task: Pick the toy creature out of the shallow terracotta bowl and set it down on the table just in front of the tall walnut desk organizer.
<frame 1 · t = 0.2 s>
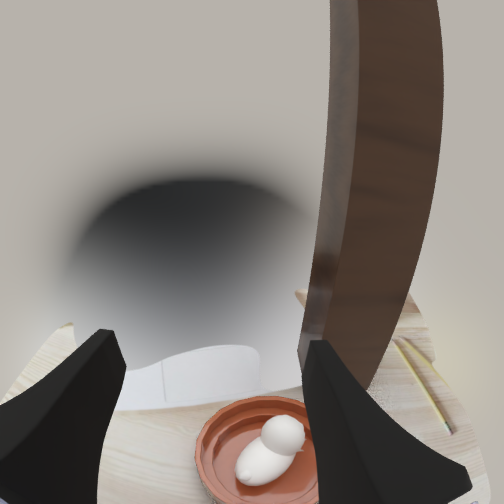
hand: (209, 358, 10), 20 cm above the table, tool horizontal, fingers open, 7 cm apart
toy creature: (267, 463, 21), resting on bowl
bowl: (267, 465, 22), on the table
organizer: (331, 370, 34), on the table
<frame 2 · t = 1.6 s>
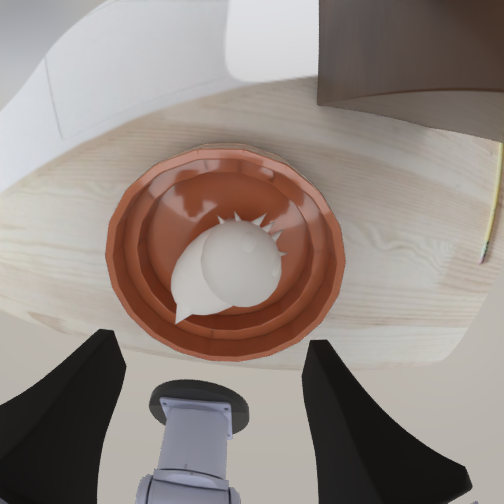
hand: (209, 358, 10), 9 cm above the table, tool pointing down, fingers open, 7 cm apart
toy creature: (225, 248, 18), resting on bowl
bowl: (226, 246, 18), on the table
organizer: (381, 55, 13), on the table
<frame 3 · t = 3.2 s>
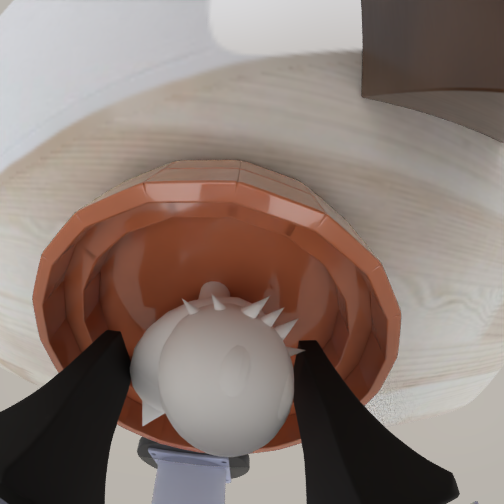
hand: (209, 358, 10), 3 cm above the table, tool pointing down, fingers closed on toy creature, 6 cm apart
toy creature: (208, 320, 12), resting on bowl, touching gripper
bowl: (215, 313, 12), on the table
organizer: (447, 34, 6), on the table
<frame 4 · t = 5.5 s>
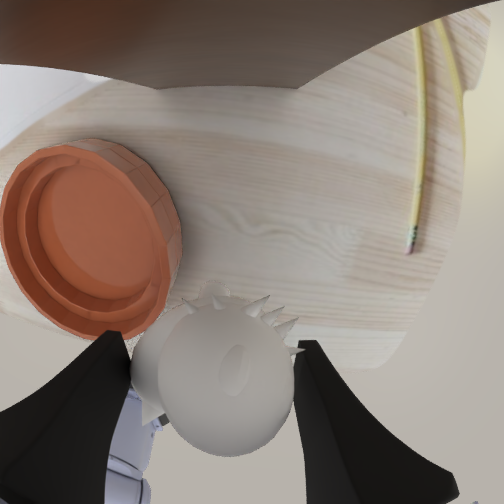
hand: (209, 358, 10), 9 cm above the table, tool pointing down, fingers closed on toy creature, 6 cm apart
toy creature: (208, 320, 12), point 7 cm above the table, touching gripper
bowl: (95, 232, 17), on the table
organizer: (228, 23, 12), on the table
when the fingers open (2 cm above the table, at t = 8.1 s): toy creature stays where it is, on the table.
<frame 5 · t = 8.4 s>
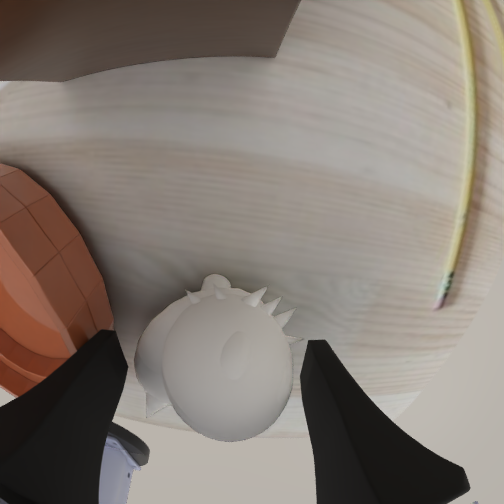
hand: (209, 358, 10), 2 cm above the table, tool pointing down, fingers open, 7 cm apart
toy creature: (210, 313, 12), on the table
bowl: (18, 280, 11), on the table
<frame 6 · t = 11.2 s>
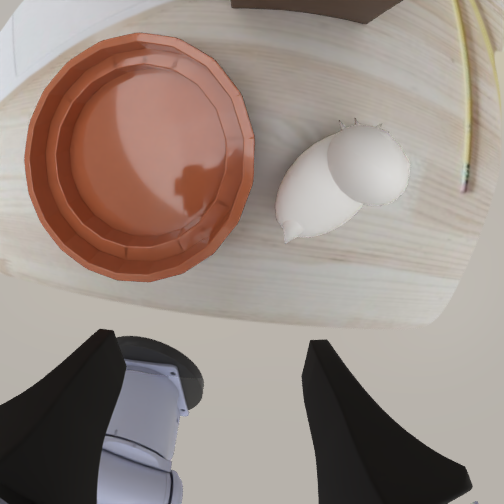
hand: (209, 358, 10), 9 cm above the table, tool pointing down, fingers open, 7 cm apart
toy creature: (323, 172, 16), on the table
bowl: (143, 153, 15), on the table
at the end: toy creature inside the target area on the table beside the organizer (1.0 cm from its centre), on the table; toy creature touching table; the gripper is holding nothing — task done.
